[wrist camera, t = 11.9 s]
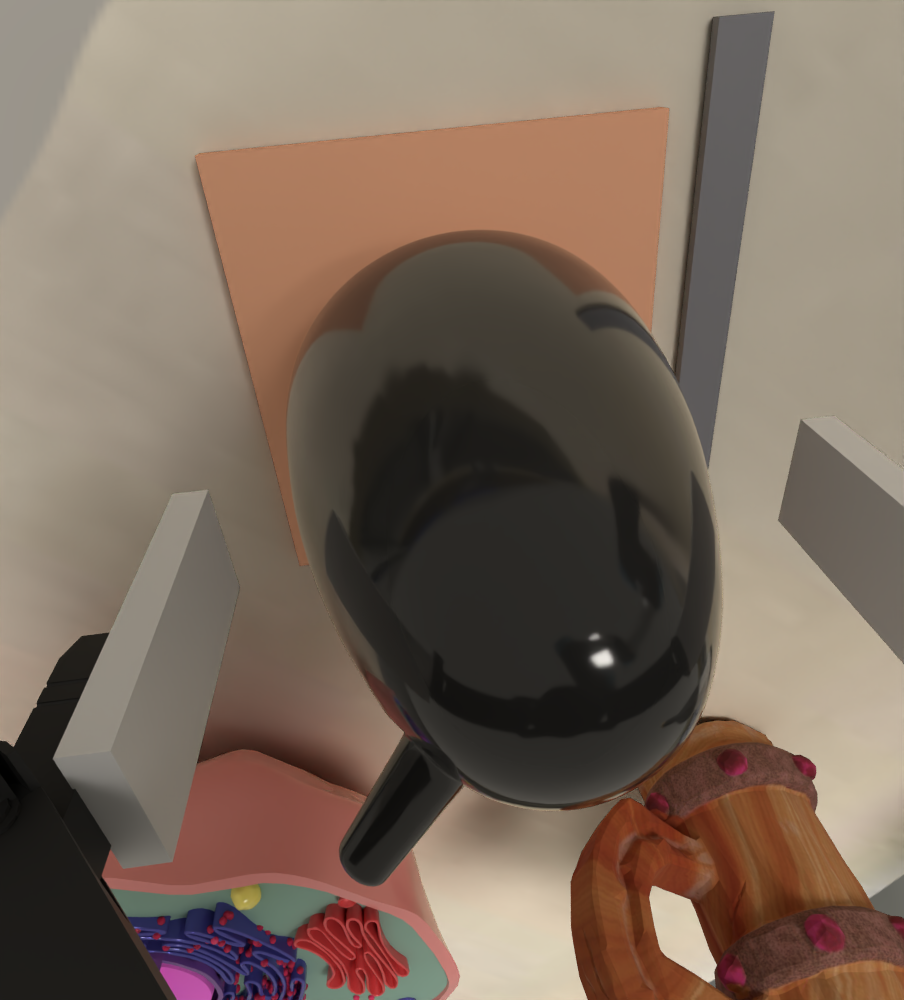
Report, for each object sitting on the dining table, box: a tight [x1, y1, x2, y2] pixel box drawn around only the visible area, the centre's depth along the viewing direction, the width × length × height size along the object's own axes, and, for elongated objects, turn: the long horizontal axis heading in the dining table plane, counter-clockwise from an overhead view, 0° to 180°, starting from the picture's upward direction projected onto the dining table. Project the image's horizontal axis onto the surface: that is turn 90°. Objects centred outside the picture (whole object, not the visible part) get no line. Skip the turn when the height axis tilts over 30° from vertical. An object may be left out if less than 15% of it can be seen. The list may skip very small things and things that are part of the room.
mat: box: [195, 107, 669, 566], centre depth 23 cm, size 13×14×1 cm
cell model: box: [102, 749, 460, 1000], centre depth 29 cm, size 17×20×11 cm
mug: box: [571, 720, 904, 1000], centre depth 29 cm, size 15×8×15 cm, turn 71°
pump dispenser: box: [286, 230, 723, 887], centre depth 16 cm, size 10×10×15 cm
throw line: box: [675, 11, 774, 470], centre depth 23 cm, size 2×18×1 cm, turn 4°
